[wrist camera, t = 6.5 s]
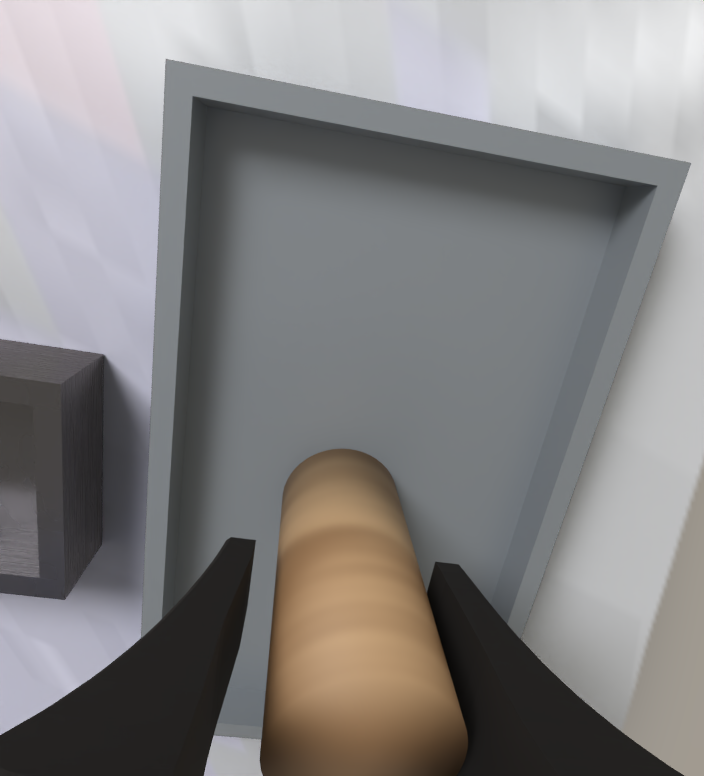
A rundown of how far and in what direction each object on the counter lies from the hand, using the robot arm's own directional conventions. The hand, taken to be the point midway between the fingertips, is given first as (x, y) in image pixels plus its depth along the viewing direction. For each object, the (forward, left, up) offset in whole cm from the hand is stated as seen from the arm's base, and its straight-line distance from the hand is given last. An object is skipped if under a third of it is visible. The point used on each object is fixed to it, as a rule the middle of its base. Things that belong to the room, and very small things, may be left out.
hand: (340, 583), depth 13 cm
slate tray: (+1, 0, -5) cm, 5 cm away
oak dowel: (0, 0, -4) cm, 4 cm away
